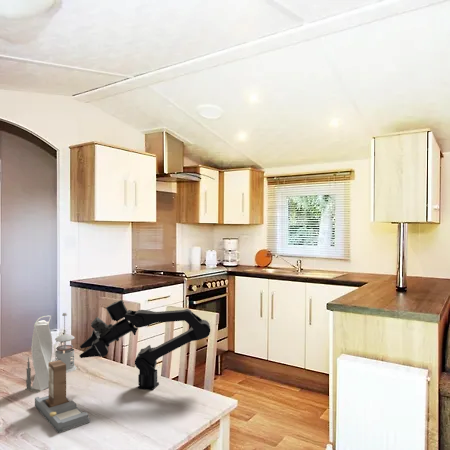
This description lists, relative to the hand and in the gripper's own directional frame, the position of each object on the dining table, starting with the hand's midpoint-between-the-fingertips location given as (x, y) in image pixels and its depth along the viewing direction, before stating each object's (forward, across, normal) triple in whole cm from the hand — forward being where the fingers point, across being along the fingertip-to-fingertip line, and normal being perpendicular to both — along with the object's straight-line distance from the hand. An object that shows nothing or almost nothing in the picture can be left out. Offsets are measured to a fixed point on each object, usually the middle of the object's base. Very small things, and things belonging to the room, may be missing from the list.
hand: (80, 351), depth 150 cm
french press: (+15, -28, +13) cm, 34 cm away
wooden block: (+12, +12, +9) cm, 19 cm away
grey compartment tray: (+11, +17, +10) cm, 23 cm away
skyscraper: (+21, -9, +8) cm, 24 cm away
